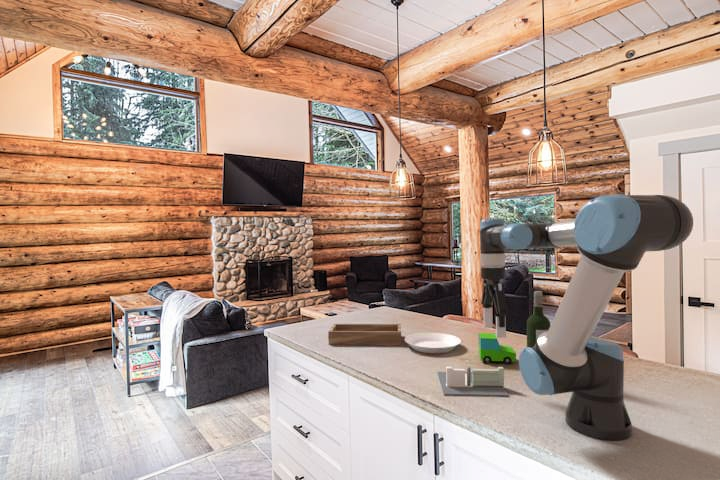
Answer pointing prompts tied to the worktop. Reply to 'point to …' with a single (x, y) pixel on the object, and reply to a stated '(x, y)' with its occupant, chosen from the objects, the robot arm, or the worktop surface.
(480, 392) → the mat
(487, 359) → the toy car
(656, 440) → the worktop surface
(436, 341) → the white plate
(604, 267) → the robot arm
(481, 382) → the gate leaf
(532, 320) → the wine bottle
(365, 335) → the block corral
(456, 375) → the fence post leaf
